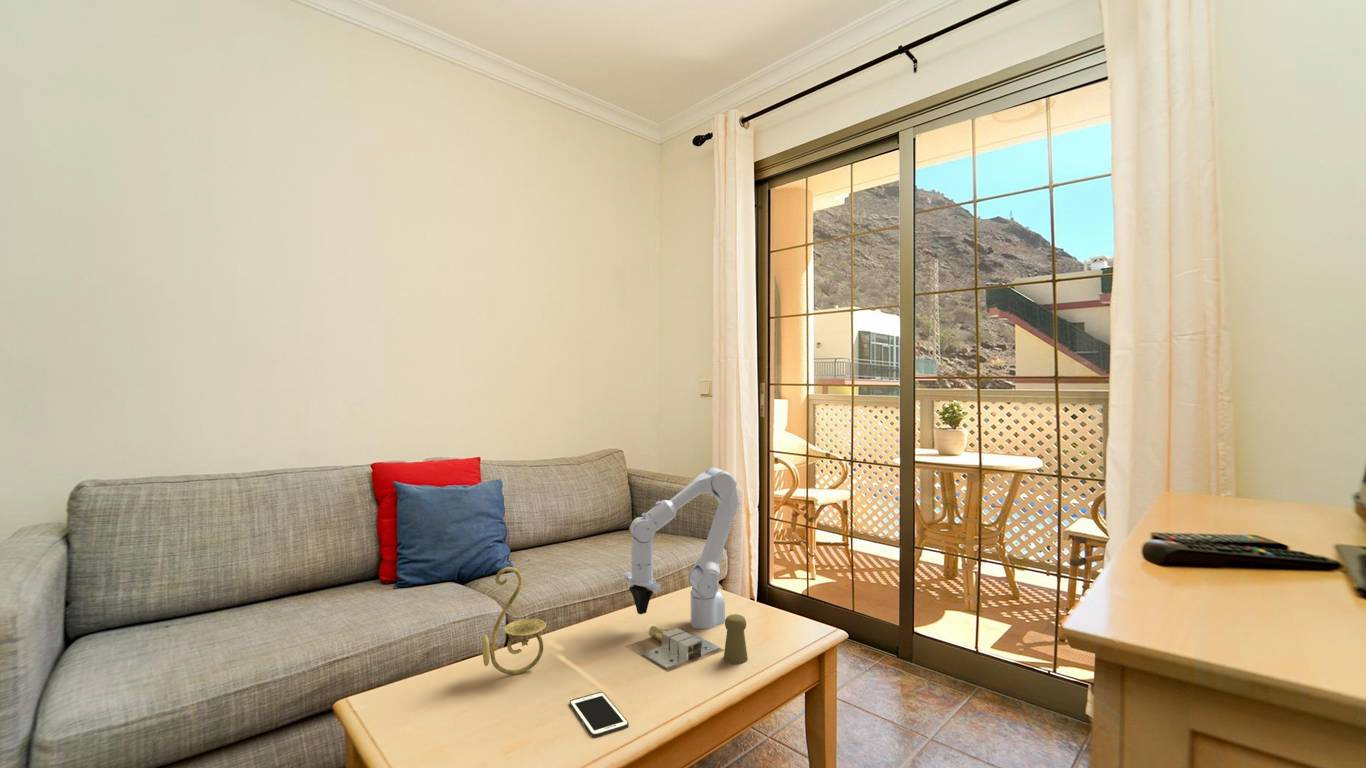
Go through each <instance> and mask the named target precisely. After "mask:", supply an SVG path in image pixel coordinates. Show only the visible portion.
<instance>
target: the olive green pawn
mask: <svg viewBox="0 0 1366 768" xmlns="http://www.w3.org/2000/svg"><path fill="white" fill-rule="evenodd" d="M724 626H725V629H726V636H725V642H724V643H725V645H724V651H723V653H724V654H723V660H724V661H725V662H727V663H729V664H733V665H740V664H745V663H746V662H748V651H747V643H746V636H745V630H746V628H747V620H746V618H745V617H744V616H743V615H741V614H738V613H737V614H736V613H735V614H729V615H727V616H726V617H725V622H724Z"/></svg>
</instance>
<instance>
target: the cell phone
mask: <svg viewBox="0 0 1366 768" xmlns="http://www.w3.org/2000/svg"><path fill="white" fill-rule="evenodd" d="M569 706H570V708H571V709H572V711H573V712H574V714H575V715H576V716H577V718H578V720H579V721H580V722H581V723H582V724H583V727H584V728H585V730H586V731H587V732H588V734H589V735H590V736H591V737H592V738H595V739H596V738H600V737H603V736H606V735H609V734H613V733H616V732H619V731H623V730H626V729H628V728H629V727H630V726H629V721H628V719H626V717H625V716H624V715H623V713H621V711H620V710H619V709H618V708H617V707H616V705H615V704H614V703H613V702H612V700H611V699H610V698H609V697H608V696H607V695H606V693H604V692H603V691H600V692H599V691H598V692H595V693H590V694H588V695H584V696H580V697H577V698H576V697H575V698H573V699H571V700H569Z"/></svg>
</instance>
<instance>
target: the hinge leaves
mask: <svg viewBox="0 0 1366 768" xmlns="http://www.w3.org/2000/svg"><path fill="white" fill-rule="evenodd" d="M678 628H679V627H675V628H673V629H669V630H665V631H666V632H663V633H662V646H660V647H658V648H655V649H652V650H649V651H646V652H643V653H642V655H643V656H645V657H647V658H648V659H650V660H652V661H653V662H655V663H657V664H658V665H660V666H662V667H663V668H665V669H670V668H673V667H675V666H678V665H680V664H683V663H686V662H688V650H689V651H691V652H693V653H695V654H697V655H699V656H700V657H702V656H704V655H707V654H709V653H712V652H715V651H717V650H720V648H721V646H718V645H716V644H715V643H712V642H710V641H708V640H707V639H705V638H702V637H700V636H699V635H696V634H693V635H690V634H688V633H686V632H685V633H684V631H682V630H680V629H678Z"/></svg>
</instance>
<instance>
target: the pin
mask: <svg viewBox="0 0 1366 768" xmlns="http://www.w3.org/2000/svg"><path fill="white" fill-rule="evenodd" d="M666 631H667V630H664V629H662V628H660V627H658V626H656V625H652V626H650V628H649V630H648V635H649V637H653V638H654V639H656V640H658V641H660V642H662V633H663V632H666Z"/></svg>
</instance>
